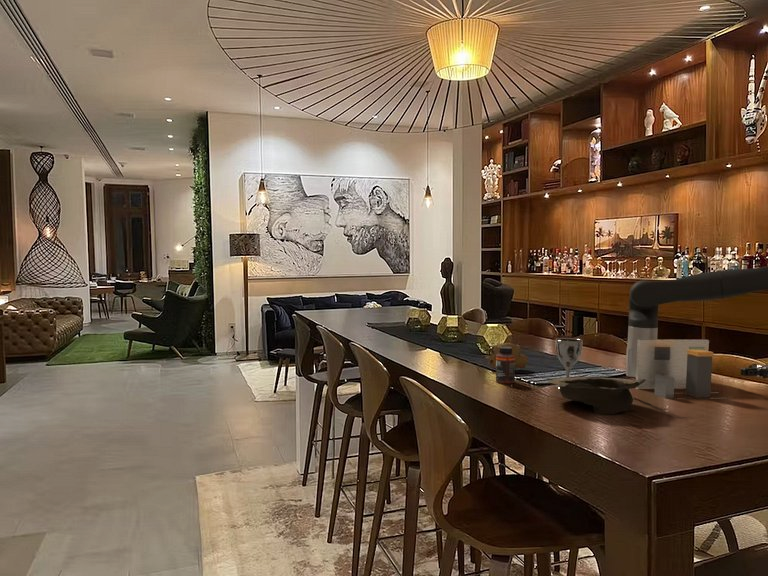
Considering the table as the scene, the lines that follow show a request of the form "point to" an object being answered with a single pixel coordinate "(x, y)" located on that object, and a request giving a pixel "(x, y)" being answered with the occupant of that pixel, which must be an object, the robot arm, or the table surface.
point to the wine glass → (568, 352)
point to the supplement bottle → (505, 366)
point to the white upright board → (665, 364)
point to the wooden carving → (519, 358)
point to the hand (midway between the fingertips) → (742, 371)
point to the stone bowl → (599, 392)
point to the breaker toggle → (699, 373)
